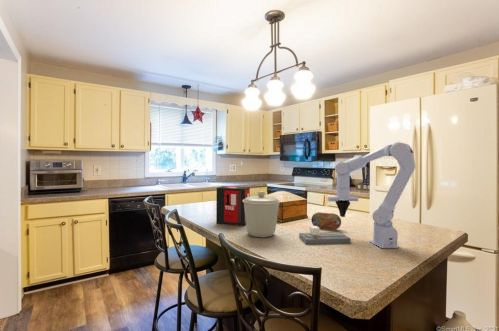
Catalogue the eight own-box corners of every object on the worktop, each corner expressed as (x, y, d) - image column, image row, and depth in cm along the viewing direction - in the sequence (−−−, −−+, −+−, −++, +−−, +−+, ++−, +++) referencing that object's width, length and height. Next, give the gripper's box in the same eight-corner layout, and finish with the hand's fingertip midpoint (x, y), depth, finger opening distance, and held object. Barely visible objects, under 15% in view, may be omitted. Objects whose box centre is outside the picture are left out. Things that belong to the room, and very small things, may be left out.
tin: (311, 227, 142) (311, 211, 142) (312, 226, 145) (312, 210, 145) (340, 231, 135) (340, 214, 135) (341, 229, 138) (341, 213, 138)
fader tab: (319, 236, 118) (319, 228, 118) (312, 236, 118) (313, 228, 118) (316, 234, 122) (316, 225, 122) (309, 234, 122) (309, 225, 121)
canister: (277, 241, 117) (278, 194, 117) (238, 238, 121) (238, 192, 120) (281, 230, 135) (281, 189, 135) (246, 228, 139) (246, 188, 138)
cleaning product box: (249, 222, 152) (249, 187, 152) (244, 226, 144) (244, 189, 143) (222, 220, 157) (222, 186, 157) (216, 223, 149) (216, 187, 148)
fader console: (350, 242, 117) (350, 237, 117) (306, 244, 114) (306, 238, 114) (340, 236, 127) (340, 230, 126) (299, 237, 124) (299, 231, 124)
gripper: (353, 186, 131) (352, 214, 131) (324, 186, 129) (324, 214, 129) (360, 188, 124) (360, 217, 124) (331, 188, 122) (330, 218, 122)
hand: (342, 216), depth 126 cm, fingers closed
